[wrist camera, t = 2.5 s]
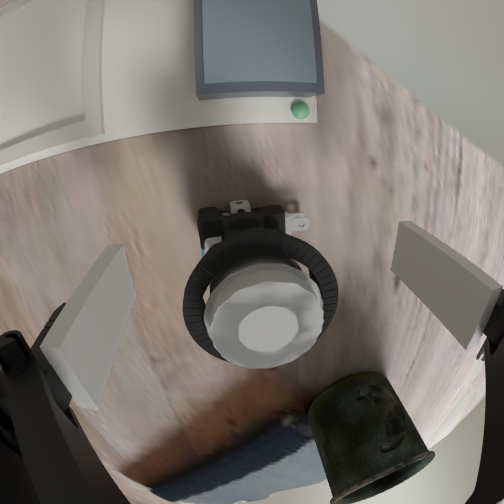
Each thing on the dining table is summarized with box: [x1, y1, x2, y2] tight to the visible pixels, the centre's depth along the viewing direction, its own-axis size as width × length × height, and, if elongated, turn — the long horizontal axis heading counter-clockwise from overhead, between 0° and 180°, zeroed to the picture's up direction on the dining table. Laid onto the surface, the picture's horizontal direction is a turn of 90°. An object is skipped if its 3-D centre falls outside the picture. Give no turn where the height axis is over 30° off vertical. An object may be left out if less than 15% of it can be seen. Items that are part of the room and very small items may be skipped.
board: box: [0, 0, 317, 174], centre depth 11 cm, size 24×14×1 cm, turn 93°
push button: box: [183, 200, 338, 368], centre depth 13 cm, size 7×5×10 cm
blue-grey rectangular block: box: [194, 0, 324, 101], centre depth 10 cm, size 6×11×3 cm, turn 3°
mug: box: [308, 372, 435, 504], centre depth 22 cm, size 11×15×12 cm
